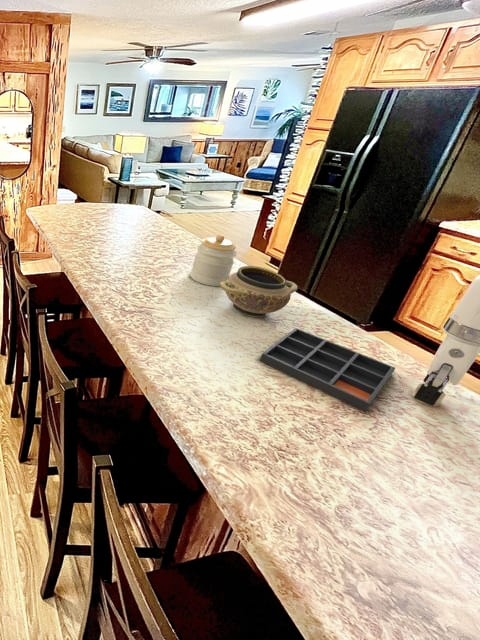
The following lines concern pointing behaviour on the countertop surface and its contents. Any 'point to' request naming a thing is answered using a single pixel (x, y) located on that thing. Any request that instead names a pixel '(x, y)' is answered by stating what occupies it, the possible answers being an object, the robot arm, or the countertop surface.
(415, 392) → the cylinder
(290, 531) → the countertop surface
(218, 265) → the jar
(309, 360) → the grid
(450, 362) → the robot arm
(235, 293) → the ceramic bowl
